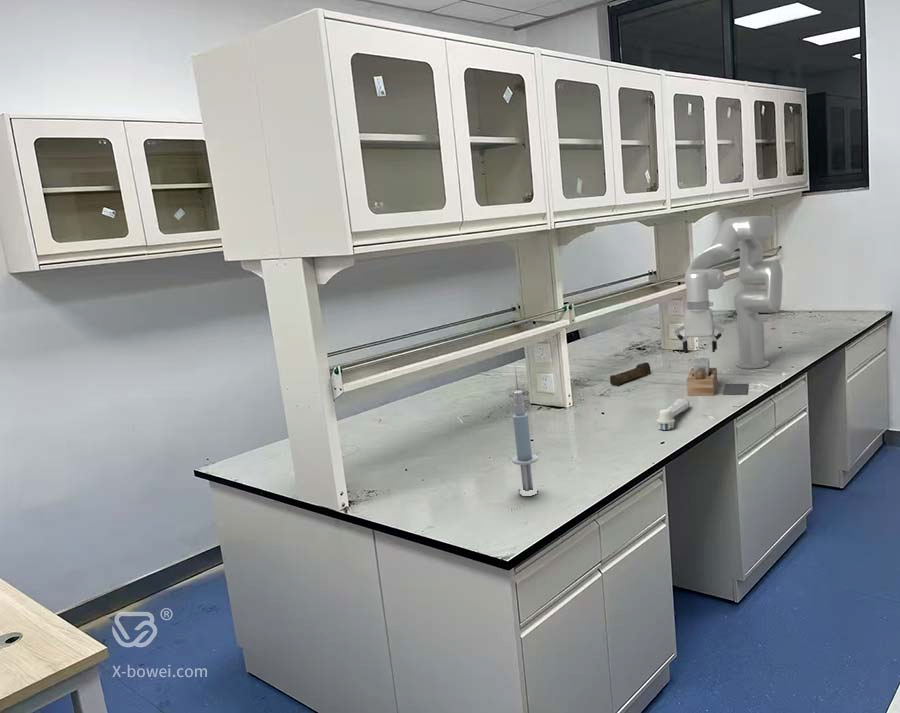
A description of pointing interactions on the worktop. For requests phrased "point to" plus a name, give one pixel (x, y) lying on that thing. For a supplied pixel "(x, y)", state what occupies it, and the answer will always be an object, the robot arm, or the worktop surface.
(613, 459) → the worktop surface
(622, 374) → the hand tool
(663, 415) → the electric toothbrush
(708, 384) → the body
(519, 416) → the syringe
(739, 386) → the rubber mat
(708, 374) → the silver block
